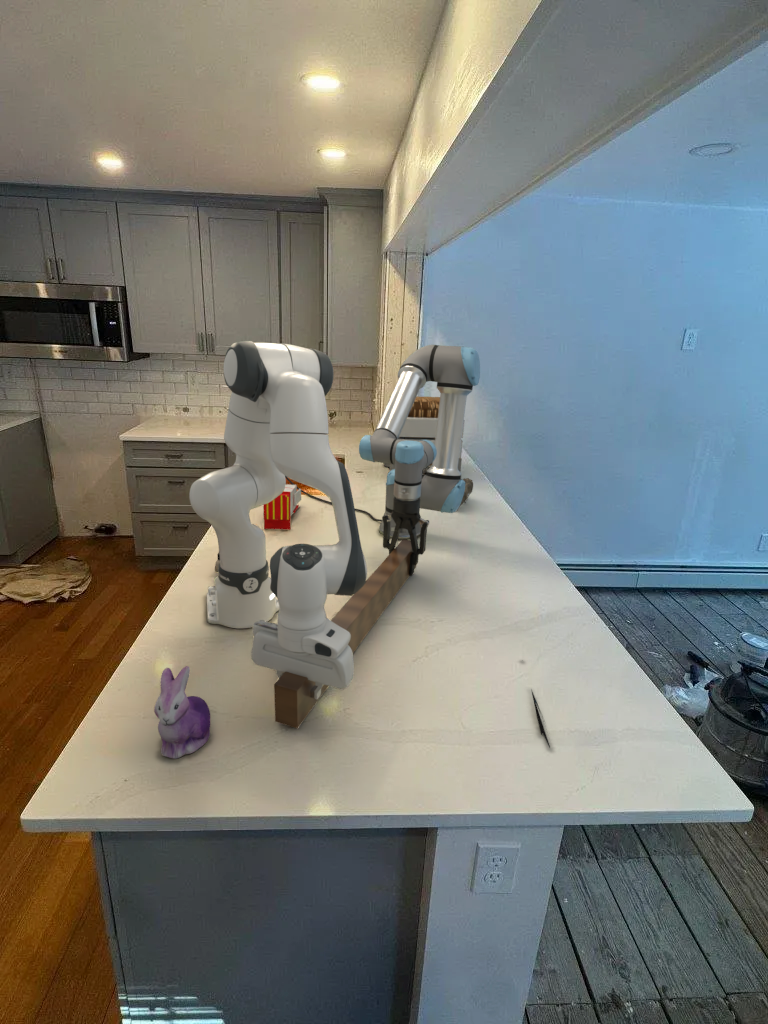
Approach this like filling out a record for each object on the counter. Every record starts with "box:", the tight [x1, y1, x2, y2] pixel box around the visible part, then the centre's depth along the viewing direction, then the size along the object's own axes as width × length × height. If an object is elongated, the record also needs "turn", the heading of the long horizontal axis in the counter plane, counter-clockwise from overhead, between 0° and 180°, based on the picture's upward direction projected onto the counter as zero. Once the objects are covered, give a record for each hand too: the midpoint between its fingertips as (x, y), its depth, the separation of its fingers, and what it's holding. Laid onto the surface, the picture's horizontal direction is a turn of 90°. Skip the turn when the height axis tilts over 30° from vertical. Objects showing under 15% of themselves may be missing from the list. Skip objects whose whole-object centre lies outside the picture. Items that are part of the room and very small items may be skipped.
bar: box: [273, 539, 417, 729], centre depth 137 cm, size 75×5×8 cm, turn 160°
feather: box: [521, 660, 551, 748], centre depth 116 cm, size 2×28×2 cm
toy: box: [263, 484, 302, 531], centre depth 210 cm, size 12×13×30 cm
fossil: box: [459, 477, 474, 508], centre depth 233 cm, size 22×10×15 cm
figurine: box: [153, 665, 211, 759], centre depth 99 cm, size 9×10×15 cm
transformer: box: [382, 395, 465, 474], centre depth 268 cm, size 34×33×41 cm
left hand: (301, 692), depth 109 cm, fingers closed on bar, 5 cm apart
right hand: (402, 572), depth 166 cm, fingers closed on bar, 5 cm apart
